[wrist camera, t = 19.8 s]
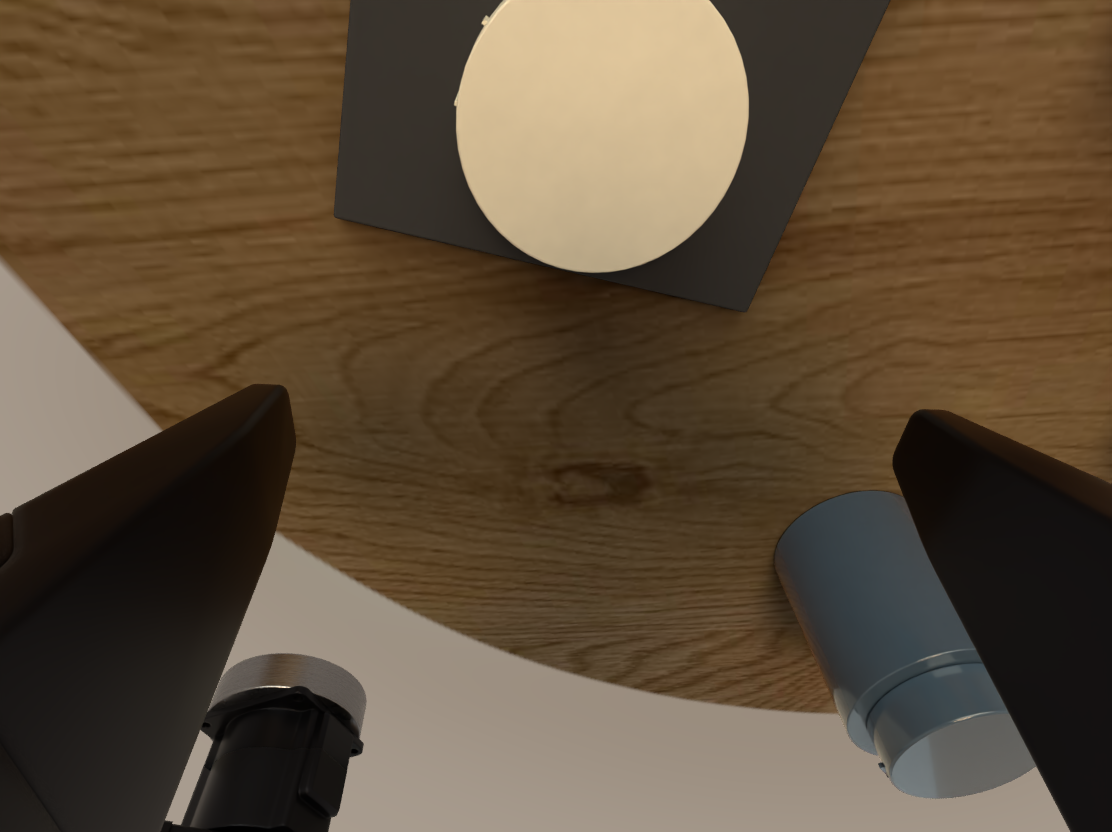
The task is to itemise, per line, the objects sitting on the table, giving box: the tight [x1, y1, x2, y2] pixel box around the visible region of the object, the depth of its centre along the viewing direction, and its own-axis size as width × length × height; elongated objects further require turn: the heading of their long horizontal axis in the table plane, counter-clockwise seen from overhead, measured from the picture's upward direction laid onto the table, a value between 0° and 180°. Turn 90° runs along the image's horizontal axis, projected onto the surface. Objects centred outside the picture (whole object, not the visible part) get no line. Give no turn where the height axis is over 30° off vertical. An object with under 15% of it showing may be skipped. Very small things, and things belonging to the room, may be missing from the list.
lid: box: [454, 0, 749, 273], centre depth 15 cm, size 6×6×2 cm
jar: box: [774, 491, 1036, 799], centre depth 23 cm, size 6×6×9 cm
